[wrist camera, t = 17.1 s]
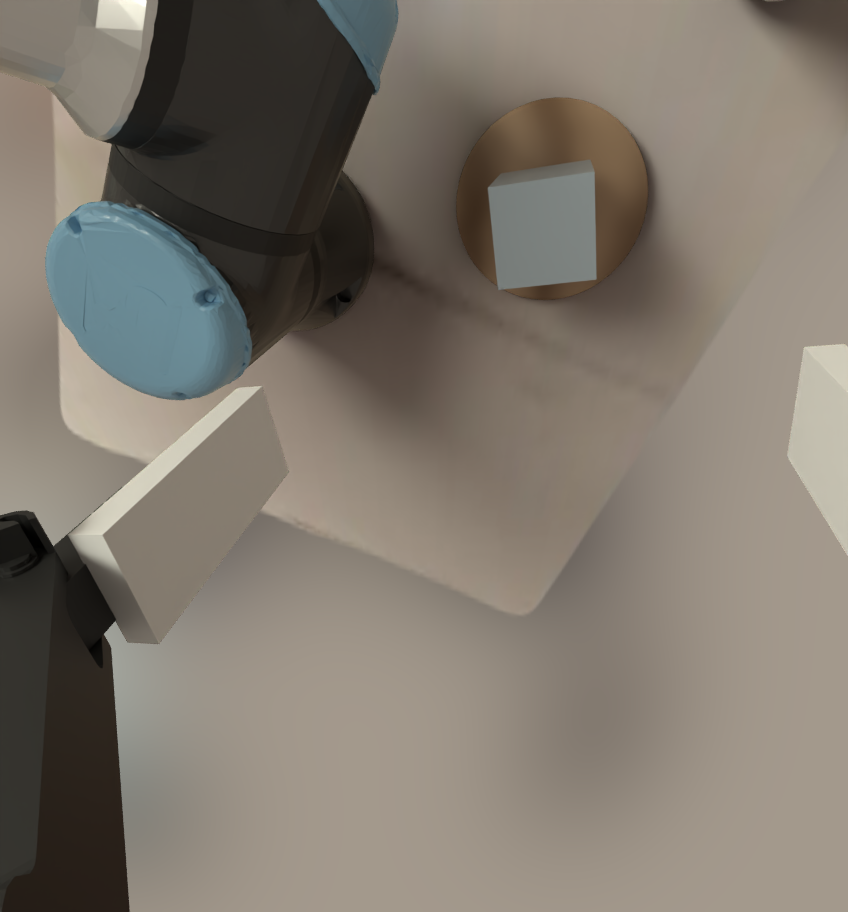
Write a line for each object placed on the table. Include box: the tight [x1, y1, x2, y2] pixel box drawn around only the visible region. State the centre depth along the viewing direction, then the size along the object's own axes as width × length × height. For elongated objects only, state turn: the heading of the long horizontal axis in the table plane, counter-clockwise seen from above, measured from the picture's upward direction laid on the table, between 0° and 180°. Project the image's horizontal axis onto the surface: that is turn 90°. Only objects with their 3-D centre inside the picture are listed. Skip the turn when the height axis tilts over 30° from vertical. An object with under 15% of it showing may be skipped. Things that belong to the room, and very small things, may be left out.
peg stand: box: [456, 98, 648, 300], centre depth 41 cm, size 14×14×12 cm
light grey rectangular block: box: [488, 160, 597, 290], centre depth 39 cm, size 6×6×8 cm
